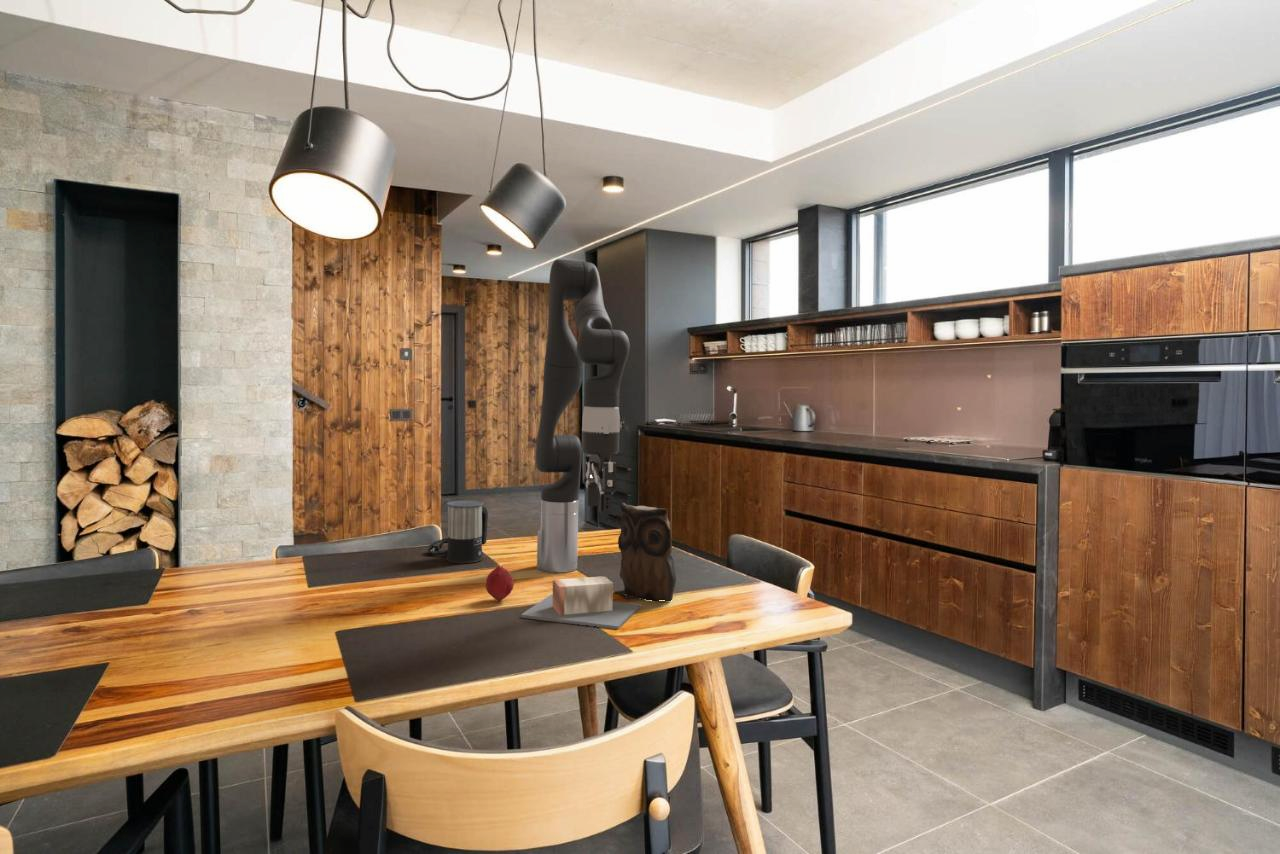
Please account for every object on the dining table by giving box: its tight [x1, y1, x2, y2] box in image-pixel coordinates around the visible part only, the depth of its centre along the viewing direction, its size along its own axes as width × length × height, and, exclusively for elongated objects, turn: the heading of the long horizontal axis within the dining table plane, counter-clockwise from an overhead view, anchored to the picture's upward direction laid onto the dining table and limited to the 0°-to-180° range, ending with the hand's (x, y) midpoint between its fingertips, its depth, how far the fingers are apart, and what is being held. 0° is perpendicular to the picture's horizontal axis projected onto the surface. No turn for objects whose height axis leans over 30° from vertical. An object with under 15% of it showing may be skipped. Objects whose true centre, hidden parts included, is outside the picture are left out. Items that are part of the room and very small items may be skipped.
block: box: [552, 575, 614, 615], centre depth 150 cm, size 6×6×11 cm
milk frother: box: [427, 499, 489, 564], centre depth 194 cm, size 14×16×15 cm
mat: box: [520, 593, 641, 630], centre depth 150 cm, size 20×15×1 cm
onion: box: [484, 562, 515, 602], centre depth 156 cm, size 6×6×8 cm
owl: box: [617, 502, 677, 602], centre depth 163 cm, size 13×13×20 cm
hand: (598, 509), depth 150 cm, fingers open, 8 cm apart
